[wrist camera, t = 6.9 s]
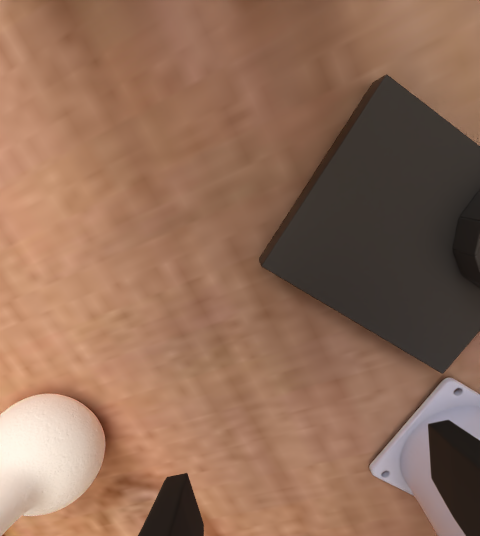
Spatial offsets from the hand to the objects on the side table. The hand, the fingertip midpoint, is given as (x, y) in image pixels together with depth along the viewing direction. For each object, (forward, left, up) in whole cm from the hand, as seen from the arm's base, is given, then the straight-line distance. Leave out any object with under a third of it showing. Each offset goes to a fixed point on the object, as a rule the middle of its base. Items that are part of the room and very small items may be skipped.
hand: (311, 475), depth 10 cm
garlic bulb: (+7, +12, -10) cm, 17 cm away
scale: (-3, -8, -9) cm, 13 cm away
